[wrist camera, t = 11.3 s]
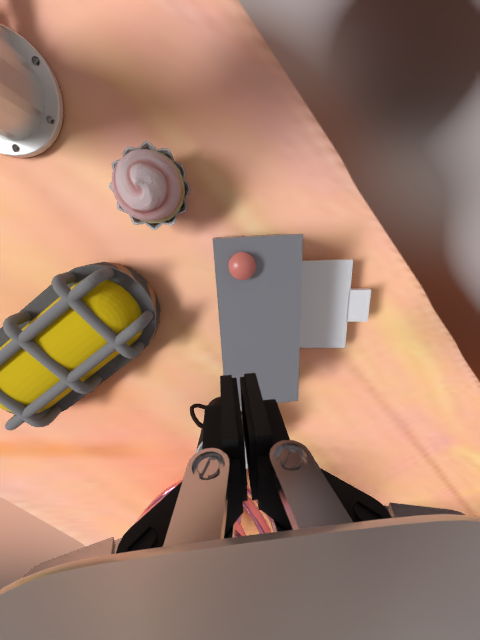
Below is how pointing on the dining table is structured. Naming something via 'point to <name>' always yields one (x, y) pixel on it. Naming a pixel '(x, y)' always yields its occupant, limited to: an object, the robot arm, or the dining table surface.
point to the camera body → (261, 310)
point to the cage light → (73, 340)
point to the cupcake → (149, 185)
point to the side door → (329, 303)
